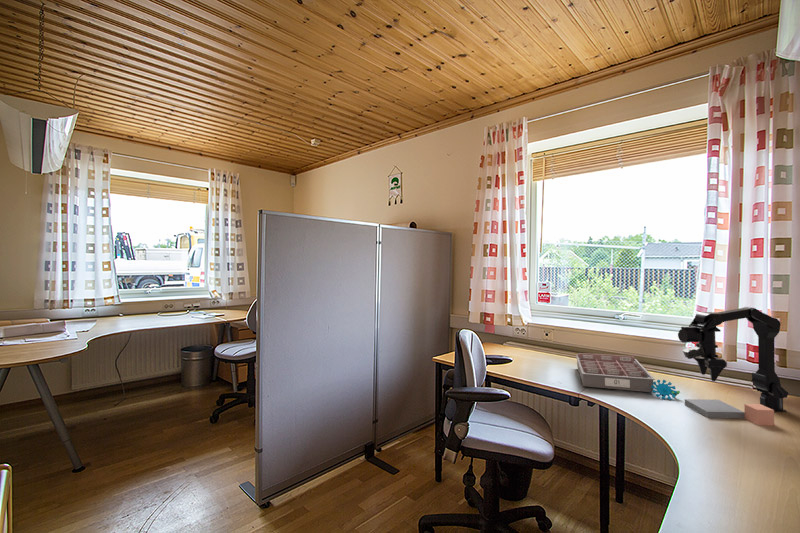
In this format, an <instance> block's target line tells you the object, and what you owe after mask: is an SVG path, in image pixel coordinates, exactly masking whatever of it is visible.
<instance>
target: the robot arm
mask: <svg viewBox="0 0 800 533" xmlns="http://www.w3.org/2000/svg"><path fill="white" fill-rule="evenodd" d="M742 319H743V320H744V319H746V320H747V321H748V322H750V323H751V324H752V328H753V330H754V332H755V334H756V336H757V338H758V339H757V340H758V348H757V350H758V351H757V352H758V359H757V360H758V368H757V370H756V371H755V372H752V373H751V382H752V384H753V386H754V387H755V389H756V391H757V392H759V393H760V397H759V404H761V405H763V406H766V407H768V408H770V409H773V410H774V412H787V409H785V408H784V399H786V398H788V395H789V392H788V391H786V389H785V388H783V387H782V384H781V380H780V378H779V375H778V374H777V373H776V370H775V366H776V365H775V361H776V360H775V358H776V356H775V338H776V337H777V336H778V335H779V333H780V329H781V321H780V320H779V319H778V318H776V317H772V316H771V315H768V314H767V313H764V312H762V311H761V310H759V309H757V308H756V307H749V306H744V307H741V308H735V309H729V310H723V311H719V312H716V311H715V312H712V311H699V312H697V313H696V314H695V317H694V318H693V320H692V321H691V322H690V324H688V326H681V327H680V328H681V329H680V330H679V331H678V333H677V337H678V339H679V341H680V342H681V343H695V346H690V347H687V348H684V349H682V350H681V351H682V353H683V355H684V358H686V359H689V360H692V359H693V360H694V361H696V364H697V366H698V368H699V371H700V374H701V375H703V376H704V375H706V374H707V370H709V375H710V380H711V381H712V382H716V381H717V379H718V377H719V376H720V374H721V372H722V371H723V370H724V369H726V368H727V367H728V362H727V361H726V360H725V359H723V358H721V357H719V355H718V354H717V349H718V348H719V345H717V344H716V343H717V342H716V332H717V333H718V332H721V329H720V328H718V326H720V325H722V324H723V323H725V322H729V321H736V320H742Z"/></svg>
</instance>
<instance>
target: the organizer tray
mask: <svg viewBox="0 0 800 533" xmlns="http://www.w3.org/2000/svg"><path fill="white" fill-rule="evenodd" d="M575 358H576V365H577V370H578V373H580V374H579V377H580V376H581V377H580V380H581V382H582V386H583V387H590V388H600V389H609V390H611V389H612V390H613V389H614V390H620V391H621V390H623V391H633V392H634V391H635V392H645V393H653V392H652V390H655V389H653V388H651V386H652V385H654V384H653V382H654V381H655V380H656V378H654V376H653V375H652V374H651V373H650V372H649V371H648V370H647V369H646V368H645V367H644V366H643V365H642V363H640V362H639V361H638V359H636V358H635V356H633V355H618V354H617V355H616V354H603V353H588V352H587V353H584V352H578V353H577V355H575Z"/></svg>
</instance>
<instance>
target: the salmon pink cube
mask: <svg viewBox="0 0 800 533" xmlns="http://www.w3.org/2000/svg"><path fill="white" fill-rule="evenodd" d="M744 412H745V418H744V420H747V421H748V422H751V423H753V424H755V425H757V426H775V411H774V410H773V409H770V408H768V407H766V406H763V405H761V404H760V403H759V404H758V403H754V404H753V403H744Z"/></svg>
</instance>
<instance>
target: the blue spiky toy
mask: <svg viewBox="0 0 800 533" xmlns="http://www.w3.org/2000/svg"><path fill="white" fill-rule="evenodd" d="M672 384H673V383H672V382H671V381H668V383H667V380H665V379H662V382H661V379H657V380H656V381H653V385H652V386H651V388H653V389H654V390H652V392H651V393H652V394H655V393H656V394H655V396H656V397H657V398H659V397H660V396H661V399H662V400H663V401H664V400H665V399H666V396H667V400H669V401H670V400H672V398H673V399H674V398H676V396H678V395H680V393H681V392H680V390H676V386H675V385H673V386H672Z"/></svg>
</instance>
